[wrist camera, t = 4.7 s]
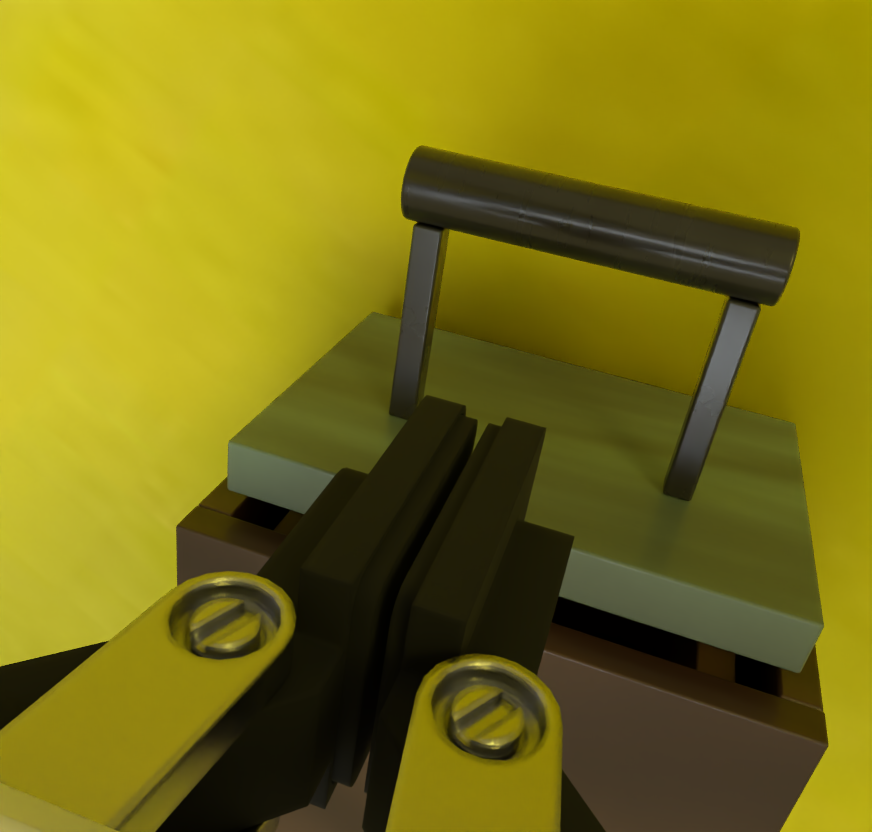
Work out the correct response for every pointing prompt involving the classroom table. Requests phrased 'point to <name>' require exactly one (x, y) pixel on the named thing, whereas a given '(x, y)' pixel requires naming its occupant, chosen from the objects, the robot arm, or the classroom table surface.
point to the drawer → (585, 418)
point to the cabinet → (601, 713)
